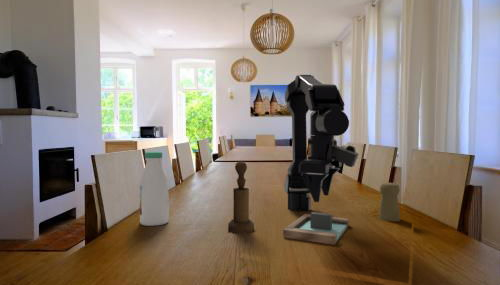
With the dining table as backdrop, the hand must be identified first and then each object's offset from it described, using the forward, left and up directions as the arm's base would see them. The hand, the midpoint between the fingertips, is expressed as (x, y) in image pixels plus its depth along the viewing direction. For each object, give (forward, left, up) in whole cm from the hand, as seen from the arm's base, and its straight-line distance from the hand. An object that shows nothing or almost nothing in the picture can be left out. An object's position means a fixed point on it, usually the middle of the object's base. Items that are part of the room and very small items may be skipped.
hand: (321, 198), depth 83 cm
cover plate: (0, 0, -8) cm, 8 cm away
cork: (+14, +21, -9) cm, 27 cm away
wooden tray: (-1, 0, -9) cm, 9 cm away
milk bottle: (-45, -10, -9) cm, 47 cm away
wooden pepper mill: (-19, -7, -9) cm, 22 cm away
